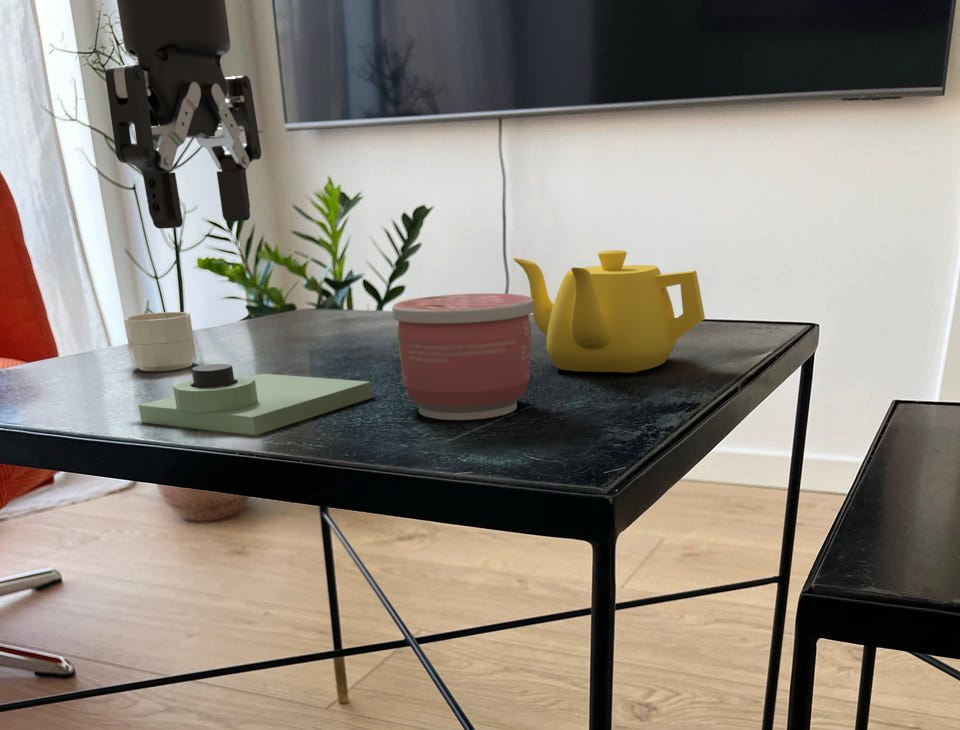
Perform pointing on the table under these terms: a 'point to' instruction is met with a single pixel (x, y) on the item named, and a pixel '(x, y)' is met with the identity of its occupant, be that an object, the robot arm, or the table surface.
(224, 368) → the button
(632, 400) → the table surface
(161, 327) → the cream cup
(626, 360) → the teapot
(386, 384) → the table surface
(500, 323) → the container
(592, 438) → the table surface
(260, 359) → the table surface
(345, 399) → the scale
